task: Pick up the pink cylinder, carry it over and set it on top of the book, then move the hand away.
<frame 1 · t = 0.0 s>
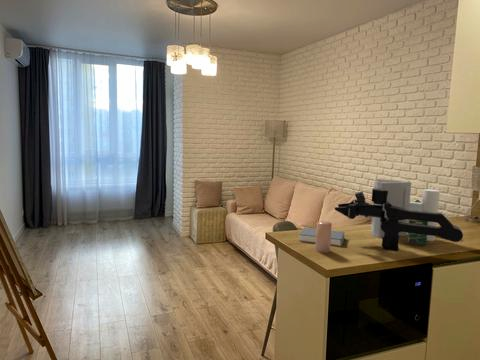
hand: (336, 206, 173), 17 cm above the worktop, tool horizontal, fingers open, 9 cm apart
paper bag: (382, 233, 192), on the worktop
book: (321, 239, 176), on the worktop
coffee box: (416, 244, 172), on the worktop
pink cylinder: (322, 250, 159), on the worktop
cylindrical container: (427, 239, 182), on the worktop
skincare box: (407, 230, 199), on the worktop
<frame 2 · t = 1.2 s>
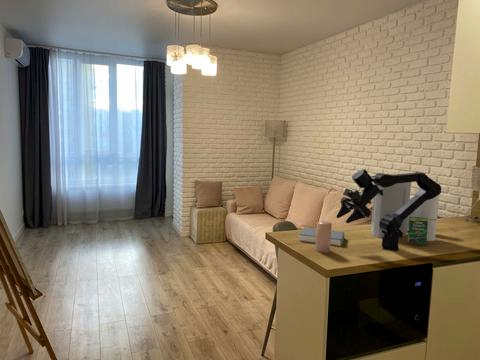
hand: (341, 219, 158), 14 cm above the worktop, tool tilted 45°, fingers open, 9 cm apart
nothing on the worktop moved.
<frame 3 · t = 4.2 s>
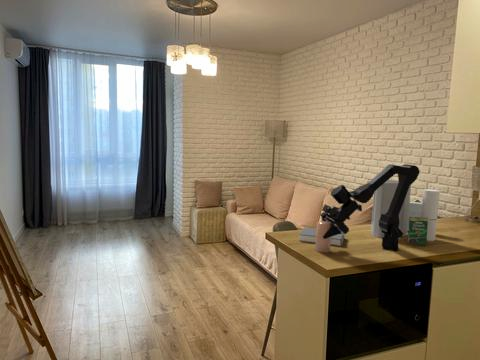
hand: (320, 235, 158), 7 cm above the worktop, tool tilted 45°, fingers closed on pink cylinder, 6 cm apart
pink cylinder: (322, 250, 159), on the worktop, touching gripper
everything else where it was.
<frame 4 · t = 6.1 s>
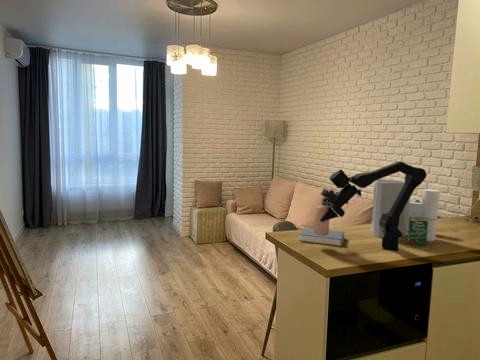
hand: (318, 219, 162), 13 cm above the worktop, tool tilted 45°, fingers closed on pink cylinder, 6 cm apart
pink cylinder: (321, 233, 163), point 6 cm above the worktop, touching gripper
everything else where it was.
when the fingers open (11 cm above the worktop, at t = 8.1 s): pink cylinder drops 2 cm, resting on book.
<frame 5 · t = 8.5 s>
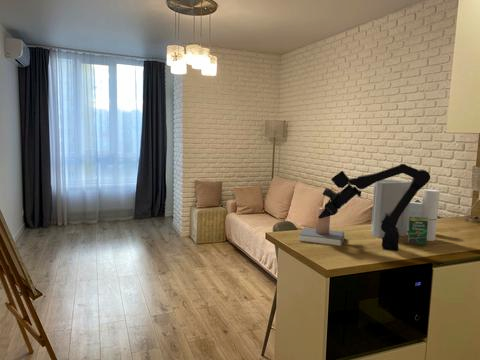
hand: (320, 216, 175), 12 cm above the worktop, tool tilted 45°, fingers open, 9 cm apart
book: (321, 240, 176), on the worktop, touching pink cylinder
pink cylinder: (322, 233, 175), point 3 cm above the worktop, touching book
everything else where it was.
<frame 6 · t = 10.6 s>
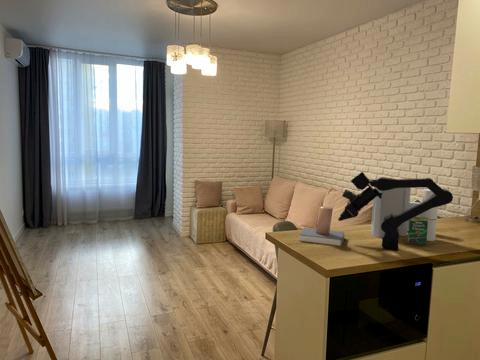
hand: (339, 218, 172), 11 cm above the worktop, tool tilted 45°, fingers open, 9 cm apart
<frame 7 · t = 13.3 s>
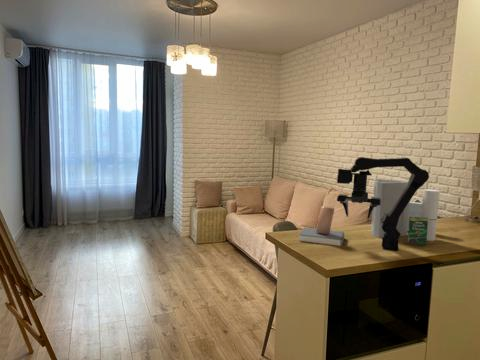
hand: (357, 217, 166), 13 cm above the worktop, tool pointing down, fingers open, 9 cm apart
at the end: pink cylinder inside the target area on the book (0.2 cm from its centre), point 4.1 cm above the book's base; pink cylinder tilted 11°; the gripper is holding nothing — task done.
